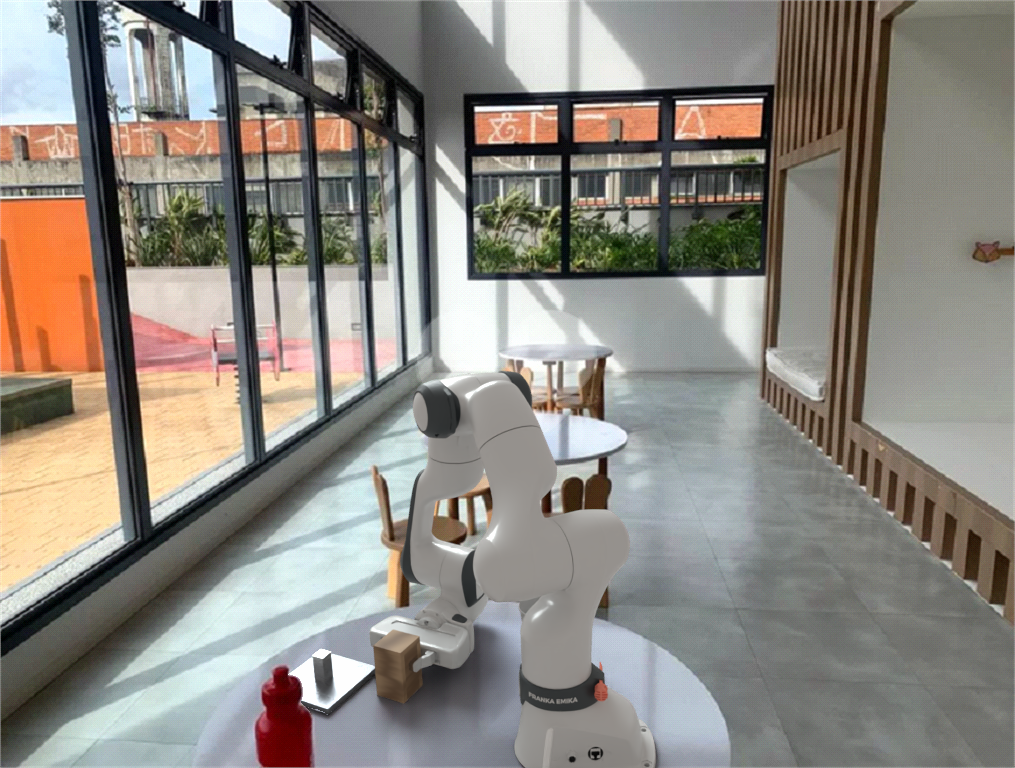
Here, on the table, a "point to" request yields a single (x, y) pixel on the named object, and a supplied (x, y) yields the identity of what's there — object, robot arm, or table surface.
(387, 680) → the brown wooden block
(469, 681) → the table surface
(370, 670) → the metal square peg base
